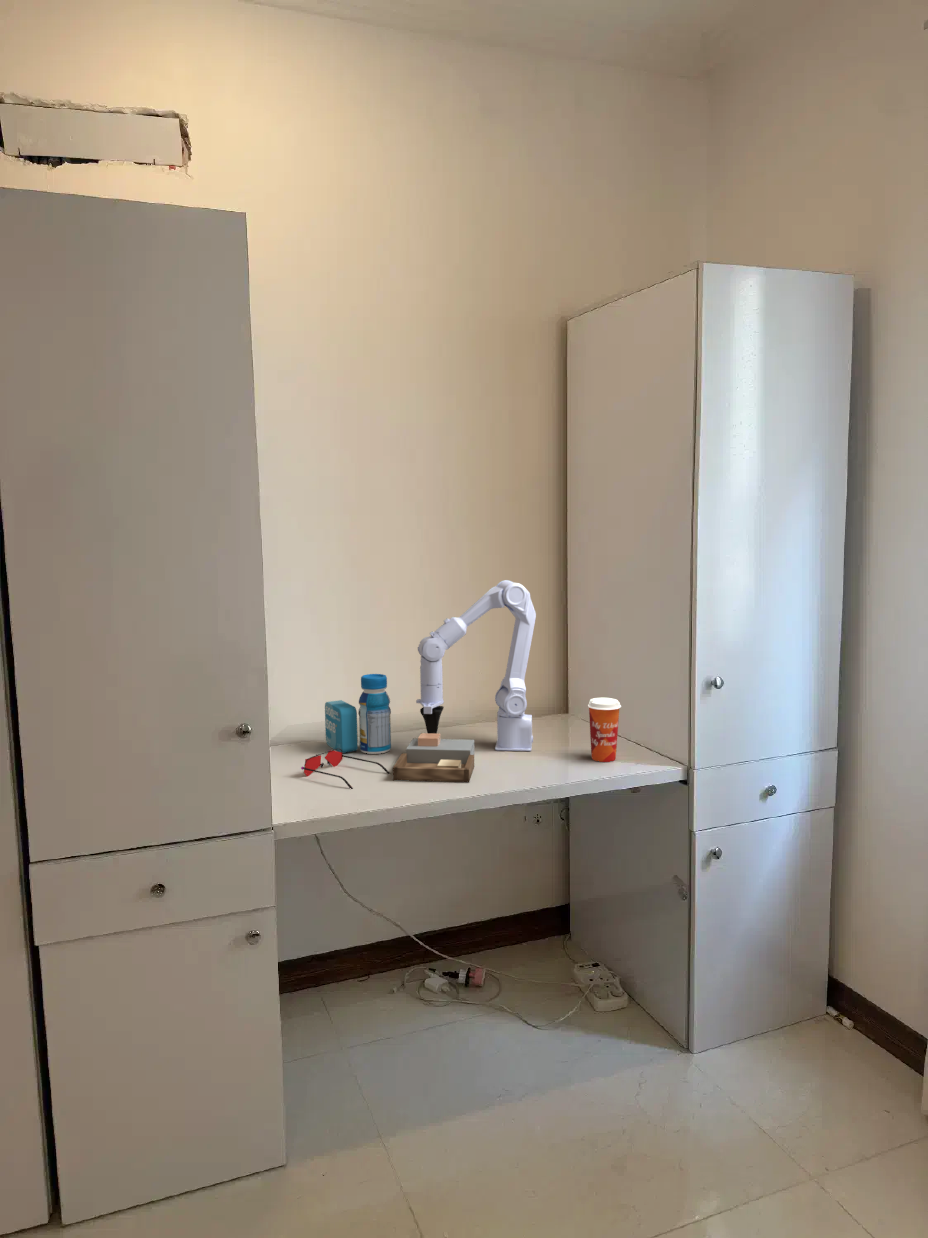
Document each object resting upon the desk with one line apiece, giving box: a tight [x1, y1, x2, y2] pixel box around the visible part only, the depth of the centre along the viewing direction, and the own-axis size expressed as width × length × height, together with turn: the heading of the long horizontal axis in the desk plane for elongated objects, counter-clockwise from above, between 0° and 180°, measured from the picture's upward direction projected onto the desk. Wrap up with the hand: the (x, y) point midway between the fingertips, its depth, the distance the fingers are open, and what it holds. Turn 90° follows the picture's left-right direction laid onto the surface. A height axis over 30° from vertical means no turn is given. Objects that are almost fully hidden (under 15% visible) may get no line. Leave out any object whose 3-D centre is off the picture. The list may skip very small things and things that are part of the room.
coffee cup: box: [587, 697, 622, 763], centre depth 221 cm, size 8×8×15 cm
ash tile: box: [437, 760, 461, 768], centre depth 211 cm, size 5×5×2 cm
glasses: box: [300, 749, 391, 790], centre depth 210 cm, size 14×16×5 cm
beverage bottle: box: [357, 673, 392, 755], centre depth 230 cm, size 8×8×20 cm
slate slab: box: [405, 738, 475, 764], centre depth 222 cm, size 16×10×4 cm, turn 84°
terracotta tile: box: [417, 732, 441, 746], centre depth 222 cm, size 5×5×2 cm
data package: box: [324, 699, 359, 754], centre depth 233 cm, size 12×4×12 cm, turn 30°
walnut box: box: [392, 752, 475, 783], centre depth 211 cm, size 18×12×3 cm
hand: (432, 734), depth 228 cm, fingers closed
